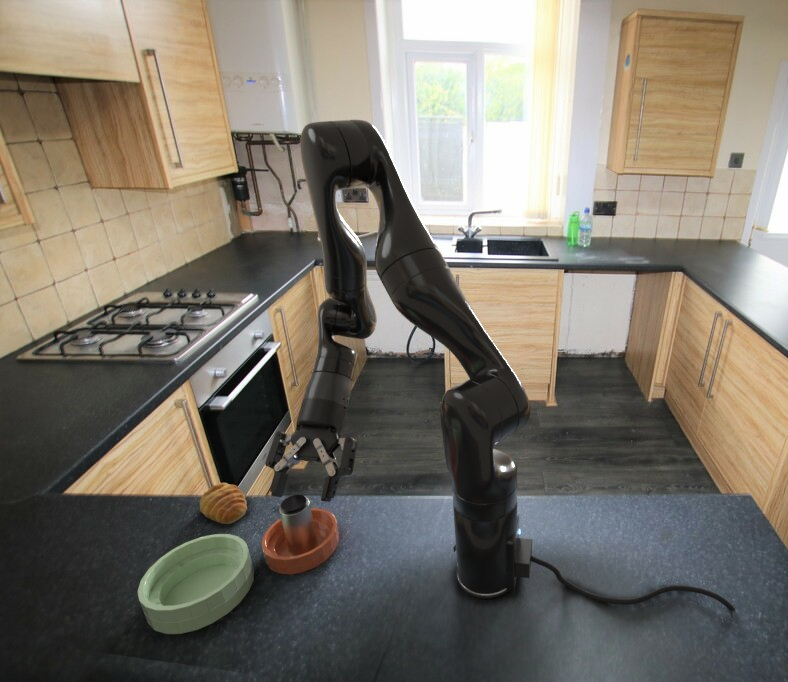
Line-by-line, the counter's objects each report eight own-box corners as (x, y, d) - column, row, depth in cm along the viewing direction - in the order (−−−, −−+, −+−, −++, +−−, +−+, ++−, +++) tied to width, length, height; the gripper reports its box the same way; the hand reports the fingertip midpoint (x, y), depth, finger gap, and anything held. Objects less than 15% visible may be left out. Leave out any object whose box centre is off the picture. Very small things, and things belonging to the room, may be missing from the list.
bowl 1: (273, 562, 75) (267, 537, 73) (212, 643, 63) (203, 616, 61) (197, 553, 77) (189, 529, 75) (122, 631, 64) (111, 604, 62)
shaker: (322, 537, 79) (314, 494, 76) (308, 558, 75) (299, 513, 72) (298, 535, 80) (288, 491, 76) (283, 555, 76) (272, 510, 72)
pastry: (258, 511, 86) (254, 495, 84) (219, 534, 81) (213, 516, 79) (235, 491, 91) (230, 475, 90) (197, 510, 86) (191, 494, 85)
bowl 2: (351, 527, 82) (348, 511, 81) (318, 580, 72) (314, 563, 70) (291, 521, 83) (287, 505, 82) (250, 572, 73) (245, 555, 72)
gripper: (276, 393, 80) (246, 492, 74) (355, 398, 78) (332, 500, 72) (298, 405, 87) (273, 497, 80) (372, 410, 85) (352, 504, 79)
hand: (300, 498), depth 76 cm, fingers open, 8 cm apart
